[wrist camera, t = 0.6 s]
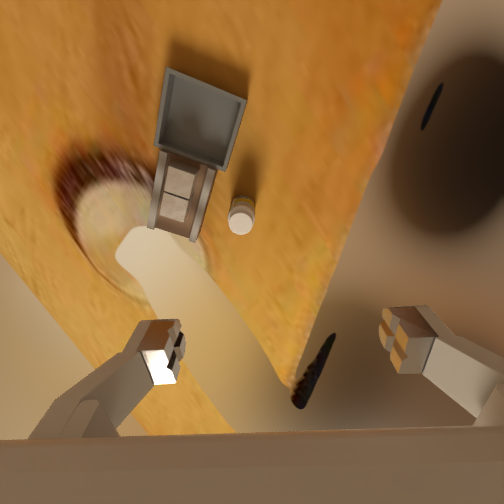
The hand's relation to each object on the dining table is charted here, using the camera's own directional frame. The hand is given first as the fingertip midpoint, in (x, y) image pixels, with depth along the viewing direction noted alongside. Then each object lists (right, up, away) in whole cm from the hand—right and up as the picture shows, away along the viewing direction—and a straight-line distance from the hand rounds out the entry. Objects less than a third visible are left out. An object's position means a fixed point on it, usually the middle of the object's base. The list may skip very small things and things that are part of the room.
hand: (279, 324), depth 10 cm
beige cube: (-12, +16, +33) cm, 38 cm away
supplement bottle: (-3, +12, +39) cm, 41 cm away
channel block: (-14, +14, +38) cm, 43 cm away
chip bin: (-9, +24, +32) cm, 41 cm away
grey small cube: (-14, +12, +35) cm, 39 cm away
